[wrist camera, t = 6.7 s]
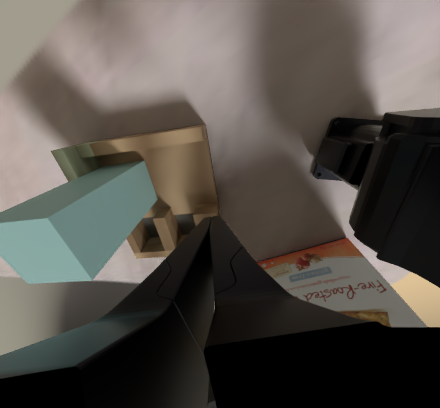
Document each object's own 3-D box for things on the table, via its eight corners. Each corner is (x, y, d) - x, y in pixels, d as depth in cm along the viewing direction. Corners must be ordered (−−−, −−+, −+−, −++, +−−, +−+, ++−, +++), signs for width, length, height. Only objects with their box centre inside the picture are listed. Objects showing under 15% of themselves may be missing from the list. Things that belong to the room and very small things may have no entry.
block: (144, 160, 20) (47, 218, 9) (157, 199, 22) (92, 280, 12) (104, 165, 20) (-30, 225, 10) (121, 203, 23) (28, 284, 12)
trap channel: (205, 124, 19) (197, 128, 15) (224, 235, 26) (222, 261, 22) (89, 142, 20) (50, 151, 16) (136, 242, 28) (119, 267, 23)
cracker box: (346, 233, 25) (674, 586, 6) (351, 262, 27) (598, 574, 9) (253, 260, 28) (294, 540, 10) (264, 283, 31) (315, 541, 12)
